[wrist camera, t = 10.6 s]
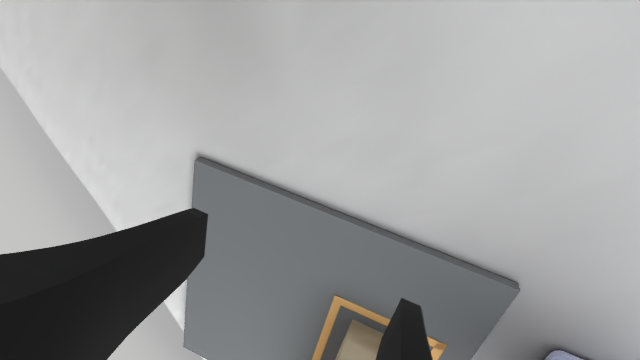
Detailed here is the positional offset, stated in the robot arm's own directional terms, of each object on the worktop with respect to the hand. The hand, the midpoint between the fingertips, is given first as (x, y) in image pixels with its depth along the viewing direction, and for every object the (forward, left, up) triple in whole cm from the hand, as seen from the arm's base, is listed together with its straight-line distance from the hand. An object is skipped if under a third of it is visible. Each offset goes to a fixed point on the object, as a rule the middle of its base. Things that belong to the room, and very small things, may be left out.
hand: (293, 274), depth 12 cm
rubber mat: (0, +13, -9) cm, 16 cm away
